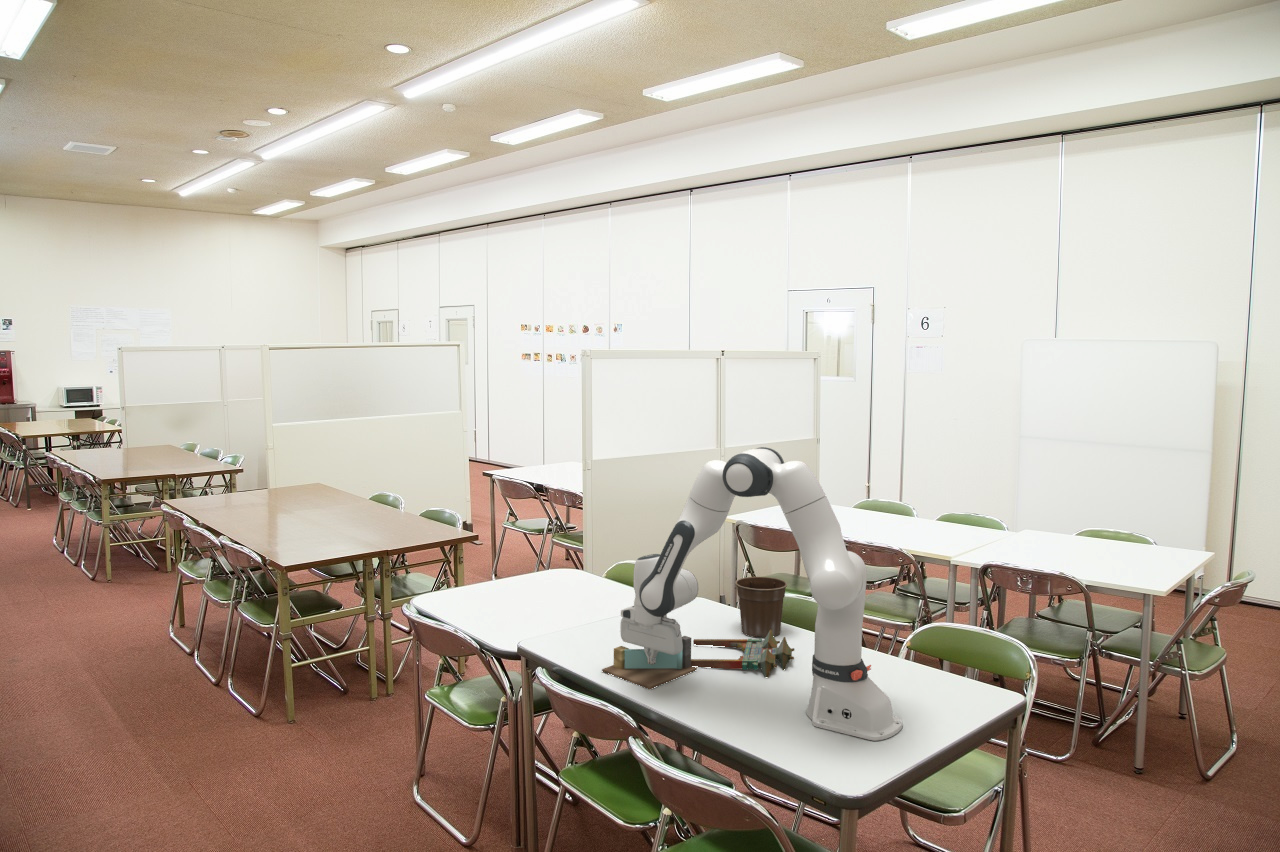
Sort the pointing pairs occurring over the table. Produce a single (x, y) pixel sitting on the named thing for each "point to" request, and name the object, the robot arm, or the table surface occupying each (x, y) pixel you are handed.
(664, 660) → the gate
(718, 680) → the table surface
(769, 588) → the plant pot
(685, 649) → the gate frame
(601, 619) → the table surface
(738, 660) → the miniature gate
